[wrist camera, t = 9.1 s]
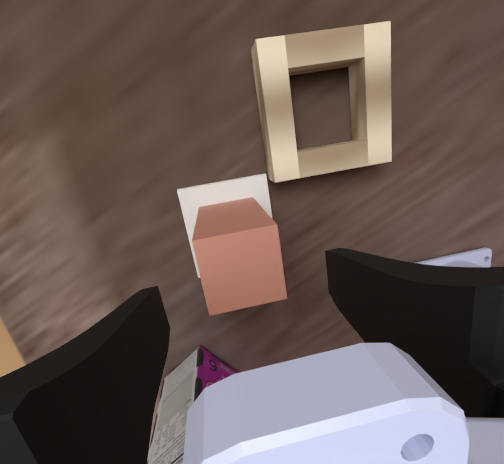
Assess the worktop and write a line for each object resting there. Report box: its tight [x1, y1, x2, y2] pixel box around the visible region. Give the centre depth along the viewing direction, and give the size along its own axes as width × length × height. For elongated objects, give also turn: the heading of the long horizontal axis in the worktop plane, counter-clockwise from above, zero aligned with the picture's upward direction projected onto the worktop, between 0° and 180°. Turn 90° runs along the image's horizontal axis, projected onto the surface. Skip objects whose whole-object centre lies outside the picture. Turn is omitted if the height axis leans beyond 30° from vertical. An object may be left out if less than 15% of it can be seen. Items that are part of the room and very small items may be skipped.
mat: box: [177, 173, 272, 278], centre depth 21 cm, size 7×6×1 cm
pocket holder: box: [251, 21, 392, 183], centre depth 19 cm, size 8×8×2 cm
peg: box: [192, 197, 287, 316], centre depth 17 cm, size 4×4×8 cm
